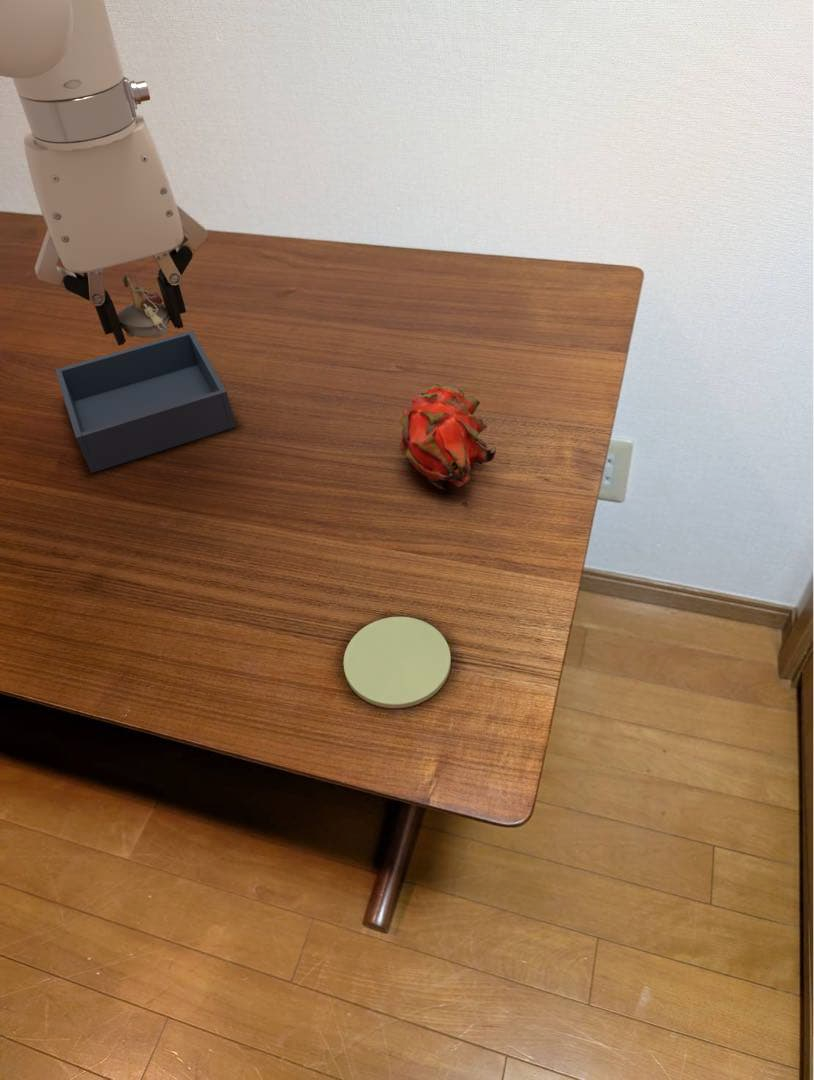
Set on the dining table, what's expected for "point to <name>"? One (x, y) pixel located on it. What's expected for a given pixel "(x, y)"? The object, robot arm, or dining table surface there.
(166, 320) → the figurine
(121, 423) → the basket
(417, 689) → the mat
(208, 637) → the dining table surface
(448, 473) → the dragon fruit
